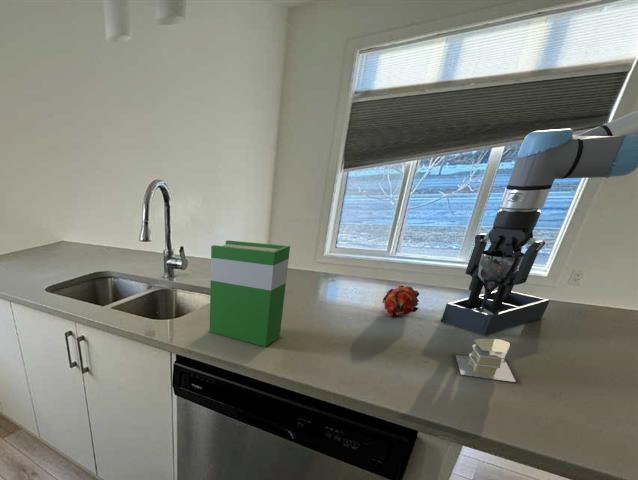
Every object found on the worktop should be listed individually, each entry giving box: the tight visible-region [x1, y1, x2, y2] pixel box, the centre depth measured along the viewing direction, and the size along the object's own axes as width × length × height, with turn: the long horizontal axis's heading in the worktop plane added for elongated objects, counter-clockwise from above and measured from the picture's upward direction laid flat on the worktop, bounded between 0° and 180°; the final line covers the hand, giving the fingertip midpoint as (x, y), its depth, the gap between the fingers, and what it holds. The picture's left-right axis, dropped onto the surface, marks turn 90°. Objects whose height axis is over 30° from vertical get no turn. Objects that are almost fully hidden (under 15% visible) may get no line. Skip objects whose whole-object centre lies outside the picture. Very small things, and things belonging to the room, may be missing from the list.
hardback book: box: [209, 239, 291, 348], centre depth 107 cm, size 18×7×24 cm, turn 44°
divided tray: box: [440, 290, 551, 336], centre depth 106 cm, size 11×21×5 cm, turn 110°
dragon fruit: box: [382, 285, 420, 317], centre depth 115 cm, size 8×8×12 cm
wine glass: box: [469, 249, 525, 315], centre depth 101 cm, size 8×8×15 cm
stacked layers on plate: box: [455, 338, 516, 383], centre depth 86 cm, size 10×9×6 cm
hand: (483, 306), depth 104 cm, fingers closed on wine glass, 5 cm apart
